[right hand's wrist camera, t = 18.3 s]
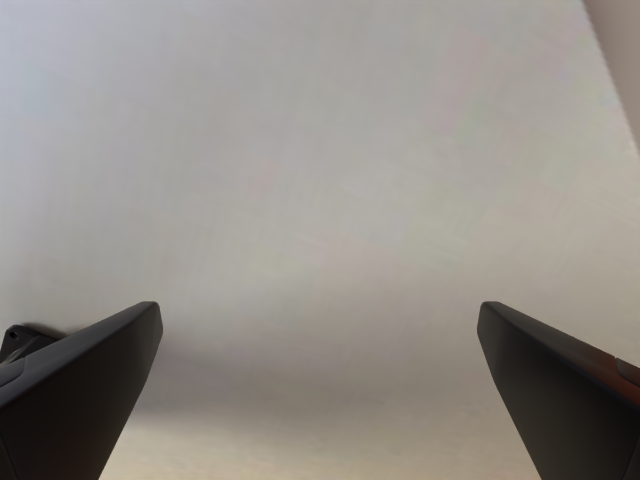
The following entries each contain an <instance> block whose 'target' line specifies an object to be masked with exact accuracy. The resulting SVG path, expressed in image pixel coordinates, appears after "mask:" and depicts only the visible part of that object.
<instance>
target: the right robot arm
mask: <svg viewBox="0 0 640 480" xmlns="http://www.w3.org/2000/svg"><path fill="white" fill-rule="evenodd" d="M16 333H17V334H18V335H17V334H16ZM162 334H163V325H162V319H161V313H160V307H159V305H158V303H157V302H154V301H144V302H140V303H138V304H136V305H134V306H132V307H130V308H127V309H125V310H123V311H121V312H119V313H117V314H115V315H113V316H110V317H108V318H106V319H104V320H102V321H100V322H98V323H96V324H93V325H91V326H89V327H87V328H85V329H83V330H81V331H79V332H76V333H74V334H72V335H70V336H68V337H66V338H64V339H62V340H56V339H54V338H51V337H48V336H46V335H43V334H41V333H38V332H36V331H33V330H30V329H28V328H25V327H23V326H20V325H13V326H11V327H10V328H9V329H7V330H6V332H5V336H4V339H3V343H2V347H1V350H0V480H98V479H99V477H100V475H101V473H102V471H103V469H104V467H105V465H106V463H107V461H108V459H109V457H110V455H111V453H112V451H113V449H114V447H115V444H116V442H117V440H118V438H119V436H120V434H121V432H122V430H123V428H124V426H125V424H126V422H127V420H128V418H129V416H130V414H131V412H132V410H133V408H134V405H135V403H136V401H137V399H138V397H139V395H140V393H141V391H142V389H143V387H144V385H145V382H146V380H147V377H148V375H149V372H150V369H151V366H152V363H153V360H154V358H155V355H156V352H157V349H158V346H159V343H160V340H161V337H162ZM477 334H478V337H479V340H480V343H481V346H482V349H483V352H484V355H485V358H486V360H487V363H488V366H489V369H490V372H491V375H492V377H493V380H494V382H495V385H496V387H497V389H498V391H499V393H500V395H501V397H502V399H503V401H504V403H505V405H506V408H507V410H508V412H509V414H510V416H511V418H512V420H513V422H514V424H515V426H516V428H517V430H518V432H519V434H520V436H521V438H522V440H523V442H524V444H525V447H526V449H527V451H528V453H529V455H530V457H531V459H532V461H533V463H534V465H535V467H536V469H537V471H538V473H539V475H540V477H541V479H542V480H640V368H638V367H636V366H634V365H632V364H629V363H627V362H625V361H623V360H621V359H619V358H616V359H615V357H614V356H612V355H610V354H608V353H606V352H604V351H602V350H600V349H598V348H595V347H593V346H591V345H589V344H587V343H585V342H583V341H581V340H578V339H576V338H574V337H572V336H570V335H568V334H566V333H564V332H561V331H559V330H557V329H555V328H553V327H551V326H549V325H547V324H544V323H542V322H540V321H538V320H536V319H534V318H532V317H530V316H527V315H525V314H523V313H521V312H519V311H517V310H515V309H513V308H510V307H508V306H506V305H504V304H502V303H500V302H496V301H486V302H483V303H482V305H481V307H480V313H479V319H478V325H477Z"/></svg>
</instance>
